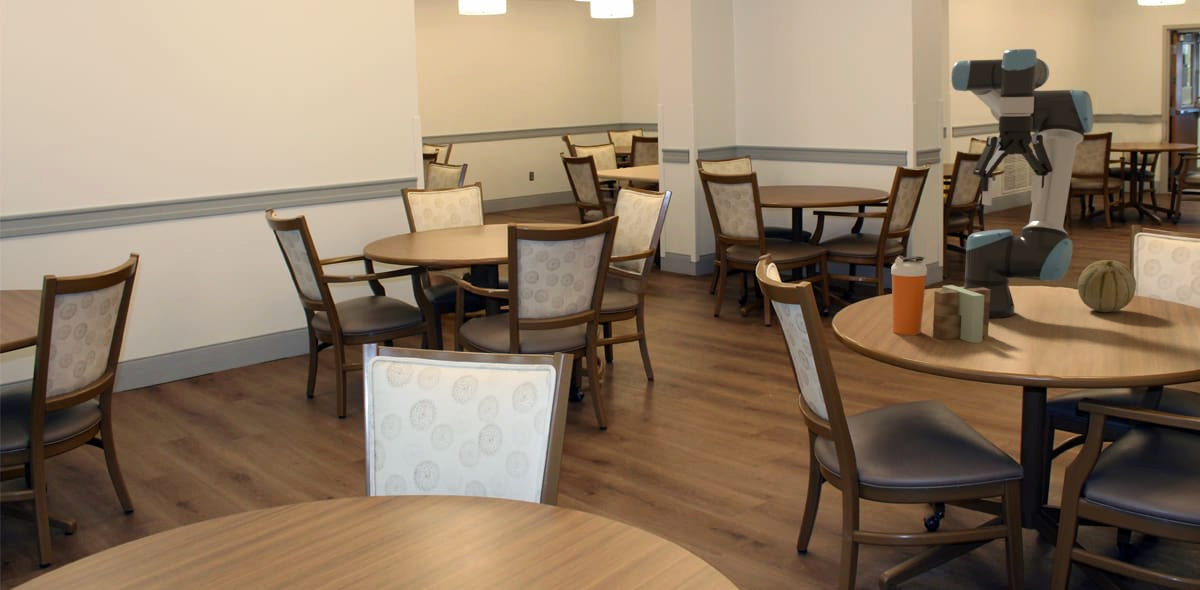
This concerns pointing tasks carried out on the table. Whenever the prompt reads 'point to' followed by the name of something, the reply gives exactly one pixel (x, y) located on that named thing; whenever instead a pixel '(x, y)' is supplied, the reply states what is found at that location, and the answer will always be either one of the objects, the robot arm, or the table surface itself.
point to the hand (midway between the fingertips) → (1011, 203)
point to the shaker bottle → (908, 294)
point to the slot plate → (969, 313)
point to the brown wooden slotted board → (954, 313)
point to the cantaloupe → (1107, 286)
